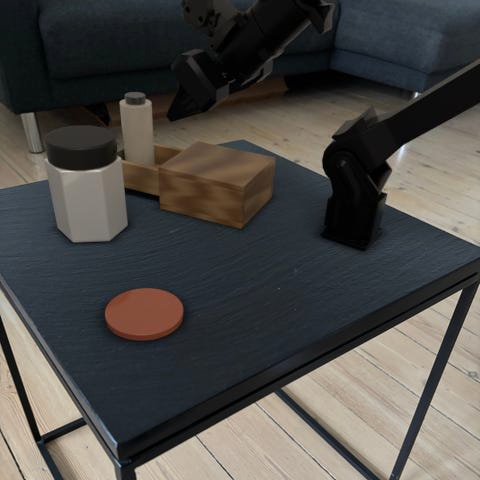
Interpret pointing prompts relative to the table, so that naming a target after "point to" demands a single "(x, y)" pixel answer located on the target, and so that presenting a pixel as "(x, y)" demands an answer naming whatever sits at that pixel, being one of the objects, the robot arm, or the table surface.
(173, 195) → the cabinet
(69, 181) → the jar
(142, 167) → the drawer
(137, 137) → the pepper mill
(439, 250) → the table surface
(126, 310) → the disc
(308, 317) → the table surface
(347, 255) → the table surface
